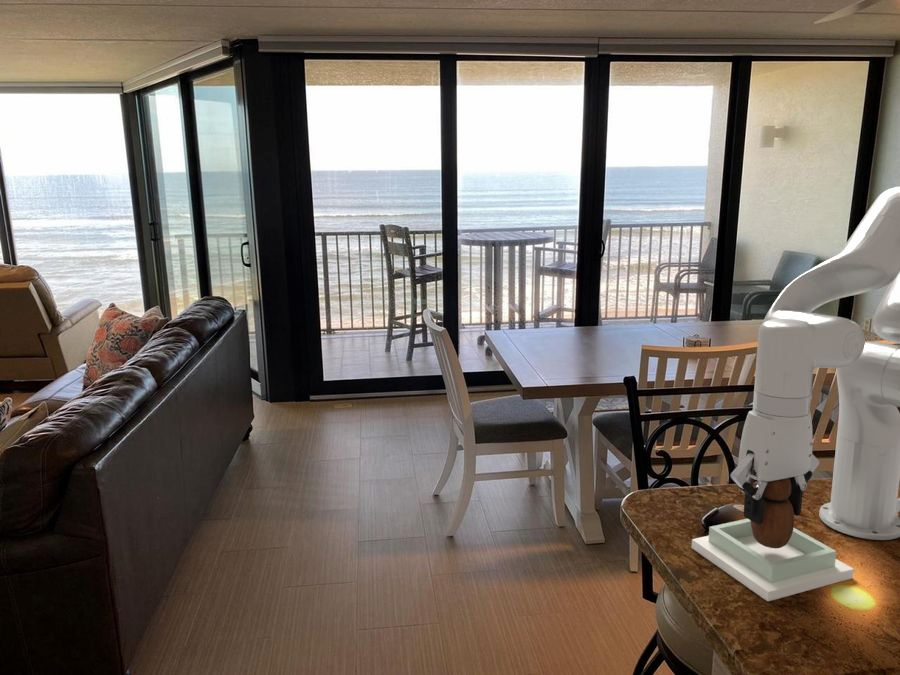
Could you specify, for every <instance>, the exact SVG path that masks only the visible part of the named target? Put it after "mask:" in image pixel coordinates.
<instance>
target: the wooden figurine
mask: <svg viewBox="0 0 900 675" xmlns="http://www.w3.org/2000/svg"><path fill="white" fill-rule="evenodd" d="M758 482H759V481H757V483H758ZM790 494H791V481H790V479H789V478H785V479H780V480H775V481H770V482H767V485H766V487H765V489H764V491H763V494H762V496H761V498H762V499H764V510H763V522H762V524H756V523H754V522H753V521H751V520H750V521H751V528H752V532H753V536H754V538H755V539H756V541H757V542H758V543H760V544H761V545H763V546H765V547H769V548H781V547H783V546H785V545H786V544H787V543H788V541H789V540H790V538H791V536H792V532H793V528H795V526H794V525H795V515H794V511H793V507H792V505H791V503H790V501H789V500H788V499H787V498H788V497H789V496H790Z"/></svg>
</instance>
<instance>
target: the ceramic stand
mask: <svg viewBox="0 0 900 675" xmlns="http://www.w3.org/2000/svg"><path fill="white" fill-rule="evenodd" d="M708 529H709V530H708V535H706V536H700V537H696V538H691V549H692V550H694V551H695V552H697V553H698V554H700V556H702V557H704V558H705V559H707V560H708V561H709V562H711V563H712V564H713V565H715V566H716V567H718V568H719V569H721V570H722V571H724V572H725V573H727V574H728V575H729V576H730V577H732V578H733V579H735V580H736V581H738V582H739V583H740V584H742V585H744V586H745V587H746V588H748V589H749V590H750V591H752V592H754V593H755V594H756V595H758V596H759V597H760V598H762V599H763V600H765V601H767V602H770V601H771V602H772V601H775V600H779V599H782V598H785V597H789V596H793V595H796V594H800V593H803V592H806V591H807V592H808V591H811V590H816V589H818V588H822V587H825V586H829V585H833V584H836V583H840V582H841V583H842V582H845V581H847V580H848V581H849V580H851V579H854V575H855V574H854V572H855V568H854V567H852V566H849V565H848V564H846V563H845V562H842V561H840V560H839V559H837V558H836V557H837V550H835V549H833V548H831V547H830V546H828V545H826V544H825V543H822V542H820V541H819V540H817V539H815V538H814V537H812V536H810V535H808V534H806V533H805V532H803V531H800V530H799V529H797V528H796V527H794V528H793V532H792V536H791V538H790V540H789V541H788V543H787V544H786V545H785V546H783V547H781V548H769V547H765V546H763V545H761V544H760V543H758V542H757V541H756V539H755V538H754V536H753V532H752V528H751V521H750V520H749V519H747V518H744V519H739V520H735V521H729V522H726V523H721V524H717V525H712V526H709V527H708Z"/></svg>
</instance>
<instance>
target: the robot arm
mask: <svg viewBox="0 0 900 675" xmlns="http://www.w3.org/2000/svg"><path fill="white" fill-rule="evenodd" d="M886 286H888V287H887V289H886V290H885V292H884V294H883V296H882V298H881V300H880V302H879V304H878V306H877V308H876V310H875V313H874V315H873V319H872V329H873V330H874V332H875V334H876V335H877V336H878V337H879V338H880V339H883V340H885V341H887V342H891V343H894V344H891V343H886V342H879V341H866V336H865V333H864V330H863V329H862V327H861V326H860V325H859V324H858V323H856V322H855V321H854V320H851V319H849V318H846V317H841V316H837V315H829V314H822V313H816V312H813V311H815V310H816V309H817V308H819V307H821V306H823V305H825V304H827V303H829V302H832V301H835V300H839V299H842V298H847V297H850V296H851V297H852V296H856V295H861V294H864V293H868V292H871V291H875V290H878V289H882V288H884V287H886ZM898 344H899V345H898ZM820 368H823V369H825V368H826V369H836V380H837V382H836V383H837V389H838V390H837V391H838V402H839V404H838V405H839V407H838V420H837V421H838V422H837V423H838V424H837V432H836V443H835V455H834V462H833V471H832V472H833V474H832V475H833V476H832V483H831V492H830V502H827V503H824V504H823V505H821V506H820V508H819V512H818V513H819V514H818V515H819V518H820V520H821V521H822V522H823V523H824V524H825V525H826V526H828V527H829V528H831V529H833V530H834V531H837V532H839V533H842V534H844V535H845V534H846V535H848V536H850V537H851V536H852V537H855V538H860V539H864V540H872V541H874V540H875V541H890V540H895V539H898V538H900V517H899V512H900V497H898V496H899V486H900V411H899V409H898V408H900V185H899V186H895V187H892V188H888V189H886V190H885V191H883V192H881V193H880V194H879V195H878V196H877V197H876V199H875V200H874V201H873V203H872V204H871V206H870V207H869V208H868V210H867V212H866V213H865V215H864V216H863V218H862V219H861V221H860V222H859V224H858V225H857V227H856V228H855V230H854V231H853V233H852V234H851V235H850V237H849V239H848V240H847V241H846V243H845V244H844V246H843V247H842V249H841V251H840V252H839V253H838V254H837V255H835V256H832V257H830V258H829V259H826V260H825V261H823V262H821V263H819V264H817V265H816V266H813V267H812V268H810V269H809V270H807V271H805V272H803V273H802V274H800V275H798V277H796V278H794V279H793V280H792V281H790V282H789V283H788V284H787V286H785V287H784V288H783V289H782V290H781V292H780V293H779V295H778V296H777V298H776V299H775V300H774V302H773V303H772V305H771V307H770V308H769V310H768V311H767V313H766V314H765V317H764V319H763V321H762V323H761V324H760V326H759V328H758V334H757V347H756V362H755V374H754V389H753V400H752V402H753V403H752V410H749V411H748V412H747V415H746V419H745V421H744V424H743V429H742V434H741V439H740V445H739V446H740V447H739V453H738V462H737V464H738V465H737V466H736V467H735V468H734V469H733V471H732V472H731V473H730V478H731V480H732V481H733V482H734V483H735V484H736V486H737V487H738V488H739V489H740V490H741V493H743V494H744V500H743V501H744V502H743V517H744V518H745V519H749V520H751V521H753V522H754V523H756V524H762V522H763V510H764V499H762V498H761V496H762V494H763V491H764V489H765V487H766V485H767V482H770V481H775V480H780V479H785V478H789V479H790V481H791V494H790V496H789V497H788V498H787V499H788V500H789V501H790V503H791V505H792V507H793V511H794V517H795V516H796V517H799V516H801V514H802V504H803V503H802V502H803V494H804V492H803V491H805V490H806V489H807V488H808V487H807V486H808V484H807V483H808V482H809V481H810V479H811V478H812V477H813V473H814V472H815V471H816V469H817V468H818V466H819V465H820V460H819V459H818V458H817V457H816V456H815V455H814V454H813V440H814V439H813V437H814V436H813V433H814V432H813V422H812V421H813V420H812V414H811V411H810V410H811V409H810V408H811V400H812V399H813V396H812V395H813V394H812V387H813V379H814V378H813V377H814V370H815V369H820ZM755 481H757V483H756V486H755V487H754V483H755ZM758 481H759V482H758Z"/></svg>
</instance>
